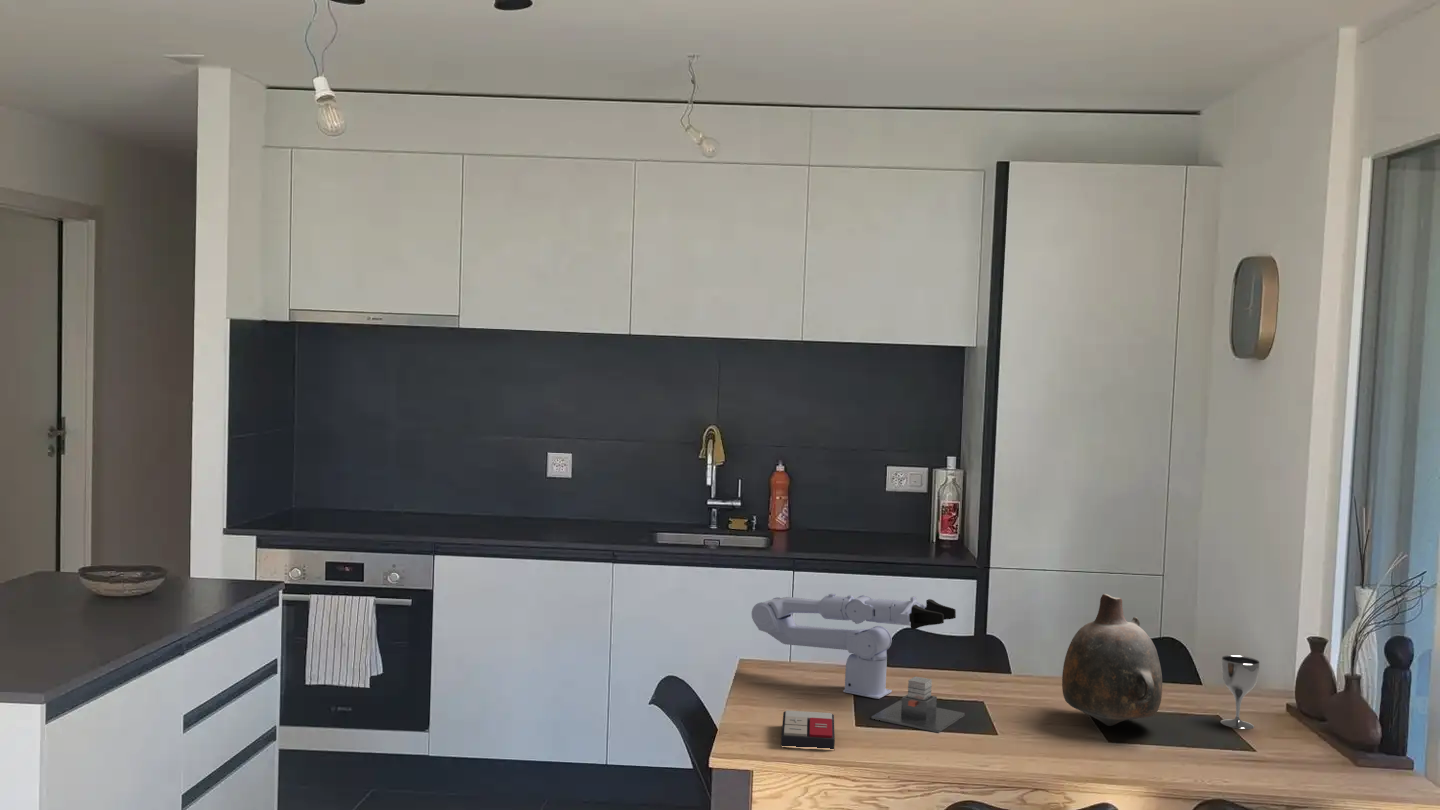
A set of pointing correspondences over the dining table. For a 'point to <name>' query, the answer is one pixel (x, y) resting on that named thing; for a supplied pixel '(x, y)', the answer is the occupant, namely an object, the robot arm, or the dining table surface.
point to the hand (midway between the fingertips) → (949, 616)
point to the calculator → (808, 729)
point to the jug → (1112, 668)
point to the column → (919, 688)
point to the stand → (919, 714)
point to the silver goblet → (1239, 683)
